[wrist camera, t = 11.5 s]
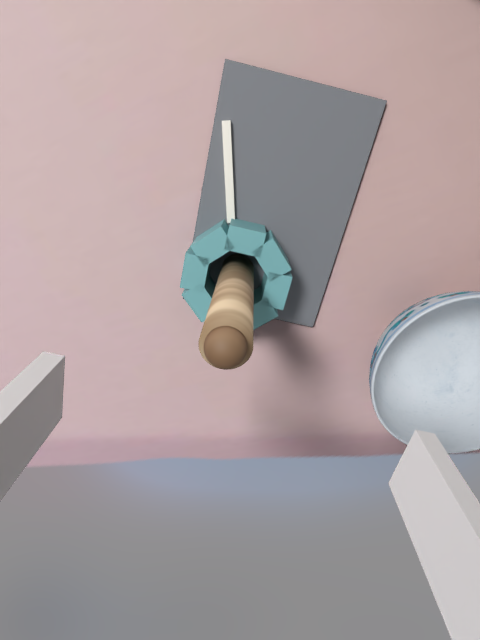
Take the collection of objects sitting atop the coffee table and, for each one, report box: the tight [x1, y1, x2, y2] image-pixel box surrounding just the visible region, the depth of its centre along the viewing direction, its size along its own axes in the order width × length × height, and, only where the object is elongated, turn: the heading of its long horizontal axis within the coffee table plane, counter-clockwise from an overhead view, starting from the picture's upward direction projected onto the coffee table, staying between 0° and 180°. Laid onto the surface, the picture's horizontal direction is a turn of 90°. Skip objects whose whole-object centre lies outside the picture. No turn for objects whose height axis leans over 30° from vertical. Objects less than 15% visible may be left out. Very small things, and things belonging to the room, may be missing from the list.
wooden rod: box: [199, 254, 254, 369], centre depth 28 cm, size 3×3×17 cm
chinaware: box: [369, 291, 480, 454], centre depth 35 cm, size 15×15×8 cm
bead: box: [180, 219, 293, 330], centre depth 34 cm, size 9×9×4 cm
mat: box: [183, 59, 387, 327], centre depth 34 cm, size 20×13×1 cm, turn 167°
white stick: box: [222, 120, 235, 223], centre depth 33 cm, size 8×1×1 cm, turn 2°
